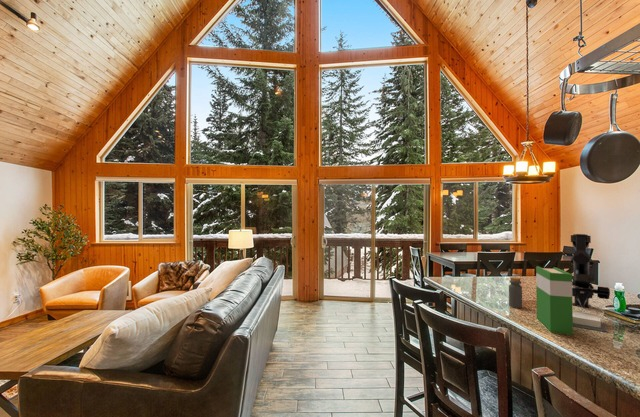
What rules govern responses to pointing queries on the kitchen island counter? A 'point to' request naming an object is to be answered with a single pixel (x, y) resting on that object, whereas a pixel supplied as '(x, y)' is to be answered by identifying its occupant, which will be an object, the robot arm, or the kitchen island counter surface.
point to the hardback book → (554, 300)
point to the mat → (603, 327)
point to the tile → (586, 319)
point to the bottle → (515, 292)
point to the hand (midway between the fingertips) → (582, 305)
